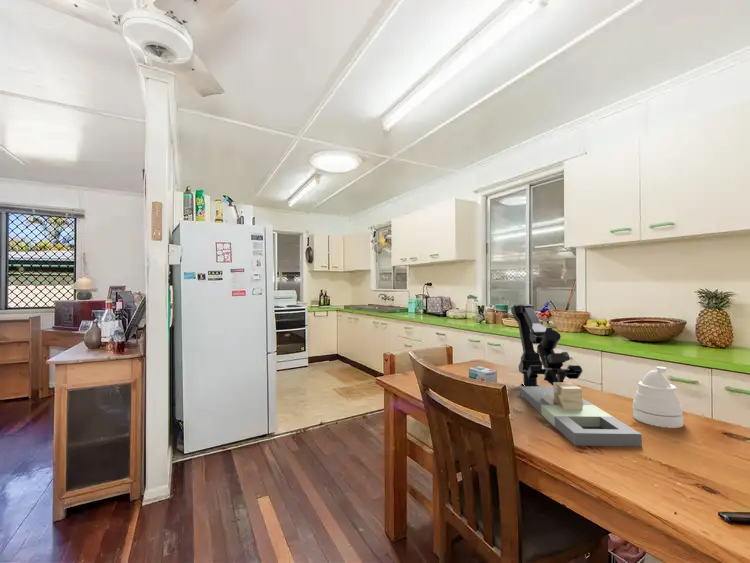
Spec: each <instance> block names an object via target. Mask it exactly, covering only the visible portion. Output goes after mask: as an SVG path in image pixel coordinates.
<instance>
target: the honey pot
mask: <svg viewBox="0 0 750 563" xmlns="http://www.w3.org/2000/svg"><path fill="white" fill-rule="evenodd" d="M667 369H668V368H667V367H666V366H656V369H652V370H649V371H648V372H647V373H646V374H645V375H644V376H643V378H642V381H641V380H640V381H639V382H638V383H637V385H638V388H637V390H636V392H635V395H634V399H633V400H632V412H633V413H632V414H633V418H634V419H635V420H637V421H638V422H641V423H643V424H646V425H650V426H654V425H655V426H654V427H659V426H660V428H666V427H667V428H668V429H677V428H681V427H684V415H683V413H684V412H683V411H684V410H683V407H682V406H681V404H680V400H678V399H679V397H678V396H677V394H676V393H675V391H677V389H678V388H677V386H675V385H674V384H671V383H670V382H669V380H668V378H666V376H665V375H664V374H665V373H666V372H667Z"/></svg>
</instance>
